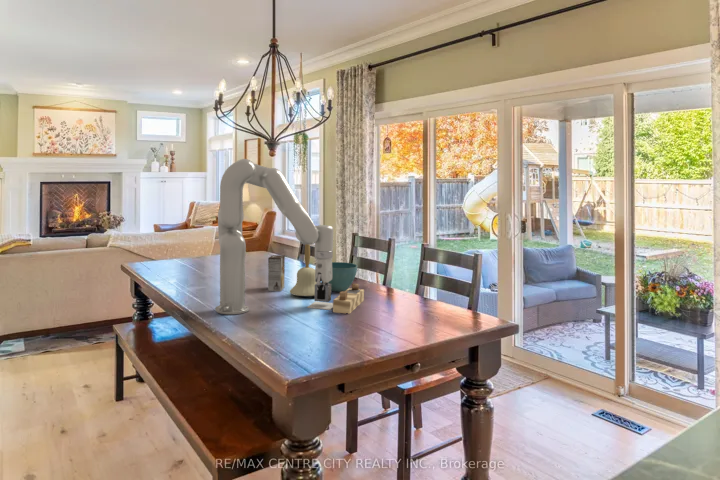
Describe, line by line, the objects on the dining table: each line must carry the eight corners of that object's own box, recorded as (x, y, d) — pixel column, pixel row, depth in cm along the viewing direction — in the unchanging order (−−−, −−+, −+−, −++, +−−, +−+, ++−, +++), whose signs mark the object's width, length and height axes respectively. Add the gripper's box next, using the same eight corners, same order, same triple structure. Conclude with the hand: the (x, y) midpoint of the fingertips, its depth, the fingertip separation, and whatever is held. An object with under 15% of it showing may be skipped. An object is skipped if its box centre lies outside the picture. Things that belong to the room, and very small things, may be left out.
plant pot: (352, 295, 227) (352, 269, 226) (314, 292, 231) (315, 266, 229) (359, 287, 245) (360, 263, 243) (324, 284, 248) (325, 261, 247)
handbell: (324, 292, 231) (325, 240, 229) (322, 299, 216) (323, 244, 213) (291, 291, 231) (292, 239, 228) (287, 298, 216) (288, 243, 213)
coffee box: (271, 287, 239) (272, 254, 237) (284, 287, 239) (285, 255, 237) (267, 291, 230) (268, 257, 228) (281, 291, 230) (281, 258, 228)
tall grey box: (328, 302, 202) (328, 285, 201) (314, 300, 204) (314, 284, 203) (330, 300, 206) (331, 283, 205) (317, 298, 207) (317, 282, 207)
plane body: (349, 313, 194) (350, 294, 193) (332, 312, 196) (333, 292, 195) (363, 300, 217) (364, 282, 216) (348, 299, 219) (349, 281, 218)
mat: (330, 309, 199) (330, 309, 199) (307, 307, 201) (307, 306, 201) (337, 304, 209) (337, 303, 209) (315, 302, 211) (315, 301, 211)
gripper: (326, 258, 194) (325, 303, 196) (338, 252, 210) (336, 294, 212) (308, 257, 195) (307, 301, 197) (321, 251, 212) (320, 293, 214)
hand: (322, 297), depth 205 cm, fingers closed on tall grey box, 4 cm apart
